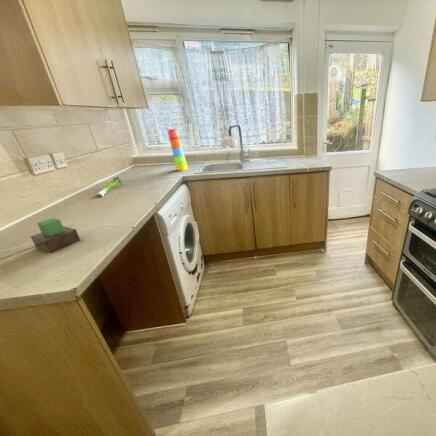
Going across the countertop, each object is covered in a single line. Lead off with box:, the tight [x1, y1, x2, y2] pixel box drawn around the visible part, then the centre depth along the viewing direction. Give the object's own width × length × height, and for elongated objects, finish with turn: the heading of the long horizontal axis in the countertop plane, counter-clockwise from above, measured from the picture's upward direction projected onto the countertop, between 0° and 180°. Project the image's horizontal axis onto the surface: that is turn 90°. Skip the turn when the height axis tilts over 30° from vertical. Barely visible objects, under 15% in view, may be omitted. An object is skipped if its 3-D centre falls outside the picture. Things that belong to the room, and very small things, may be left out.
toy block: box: [36, 217, 65, 237], centre depth 93 cm, size 5×5×5 cm
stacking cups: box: [167, 128, 188, 171], centre depth 209 cm, size 10×10×35 cm
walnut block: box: [29, 225, 81, 254], centre depth 95 cm, size 10×10×5 cm
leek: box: [95, 176, 123, 198], centre depth 164 cm, size 6×7×30 cm
